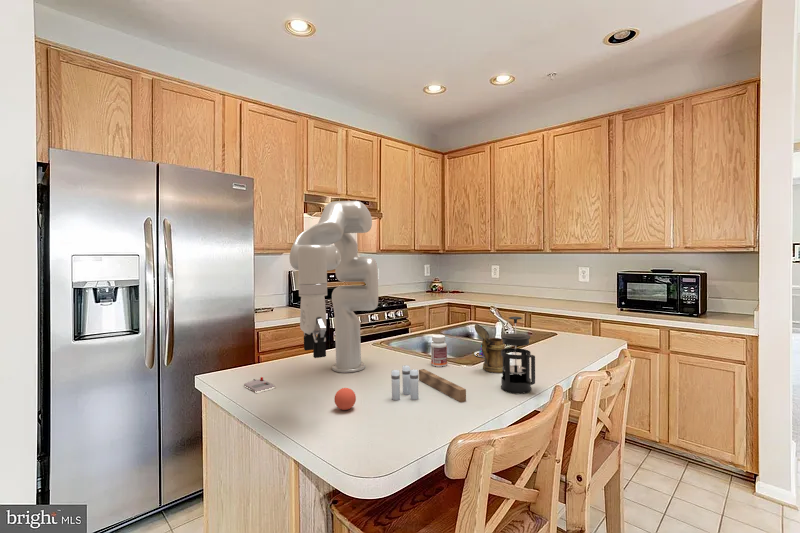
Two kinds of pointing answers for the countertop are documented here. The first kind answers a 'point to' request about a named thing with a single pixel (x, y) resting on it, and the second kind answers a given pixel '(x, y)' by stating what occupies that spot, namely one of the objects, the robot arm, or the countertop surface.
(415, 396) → the pin
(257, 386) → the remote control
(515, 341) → the french press
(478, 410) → the countertop surface
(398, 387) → the front pin
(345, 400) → the ball
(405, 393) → the pin
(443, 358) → the pill bottle
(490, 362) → the wooden mug
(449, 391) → the back wall
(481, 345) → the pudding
